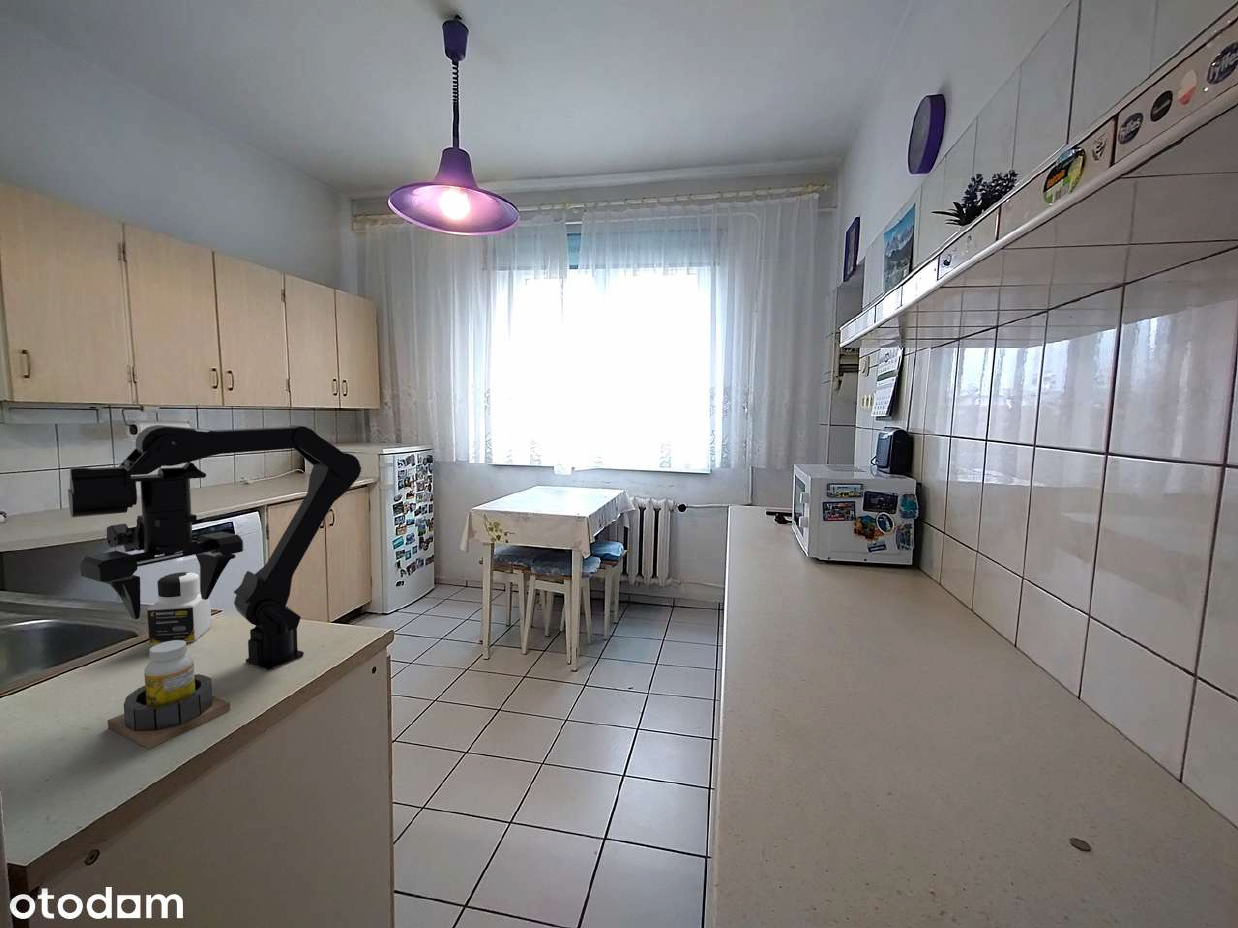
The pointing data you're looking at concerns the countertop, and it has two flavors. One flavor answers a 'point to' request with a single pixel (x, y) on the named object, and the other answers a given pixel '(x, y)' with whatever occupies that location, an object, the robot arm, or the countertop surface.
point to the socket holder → (167, 714)
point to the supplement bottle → (169, 673)
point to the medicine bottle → (178, 610)
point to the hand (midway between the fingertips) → (171, 608)
